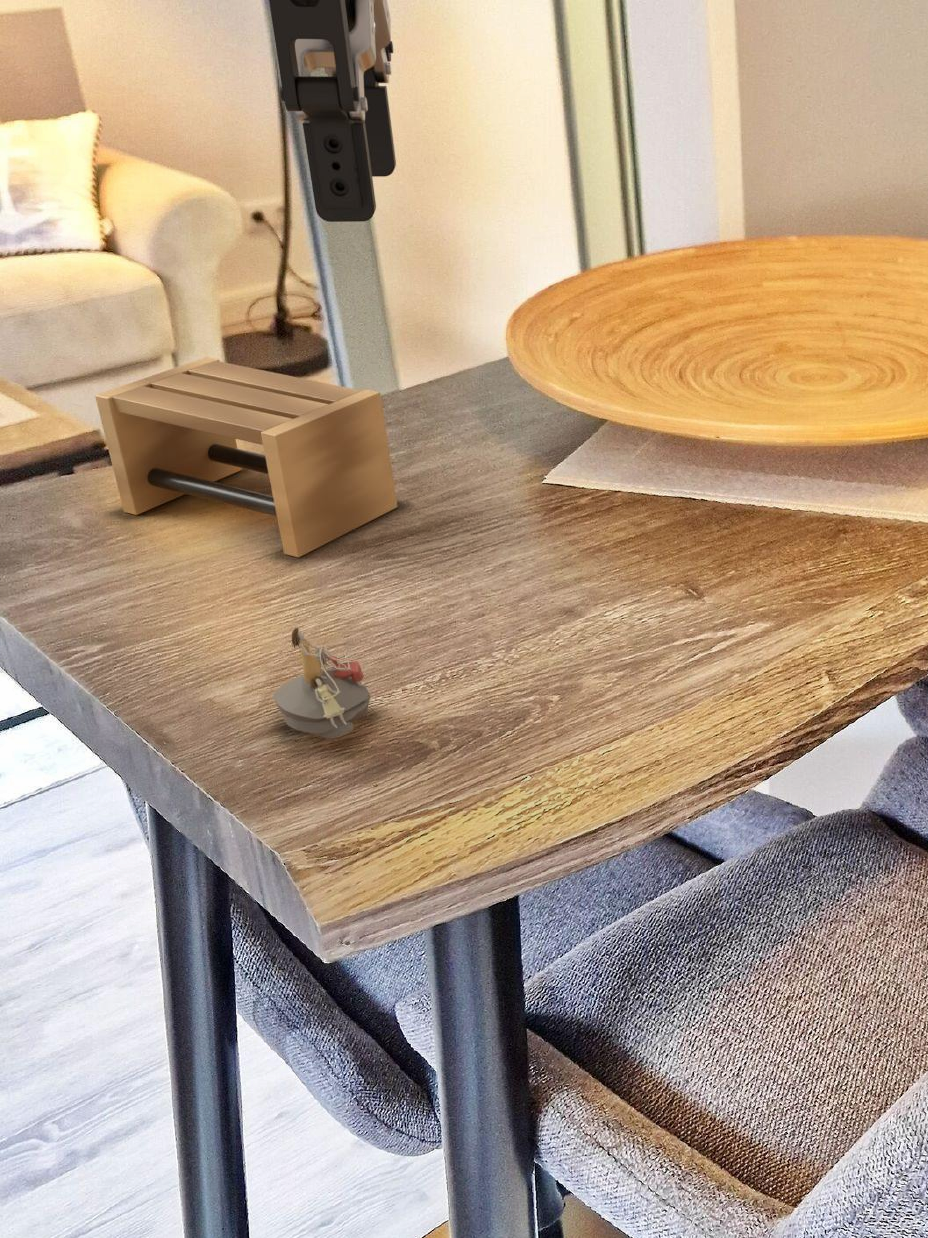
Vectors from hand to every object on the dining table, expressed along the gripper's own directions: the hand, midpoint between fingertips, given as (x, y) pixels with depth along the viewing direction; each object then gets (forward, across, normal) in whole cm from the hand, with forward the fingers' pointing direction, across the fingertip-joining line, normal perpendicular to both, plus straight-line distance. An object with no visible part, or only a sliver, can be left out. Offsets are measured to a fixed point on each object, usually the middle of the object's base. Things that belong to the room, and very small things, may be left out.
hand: (360, 196), depth 63 cm
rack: (+26, -30, -13) cm, 42 cm away
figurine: (+26, 0, -5) cm, 27 cm away
